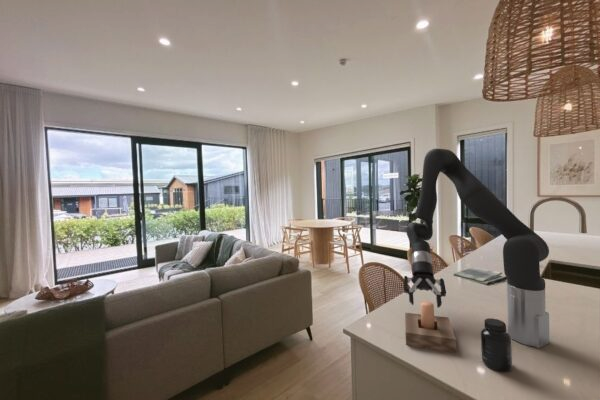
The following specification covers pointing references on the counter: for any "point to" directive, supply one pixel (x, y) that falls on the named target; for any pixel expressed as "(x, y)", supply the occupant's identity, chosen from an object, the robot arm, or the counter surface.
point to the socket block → (430, 333)
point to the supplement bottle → (496, 345)
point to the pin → (427, 315)
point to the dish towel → (481, 275)
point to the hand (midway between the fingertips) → (425, 305)
